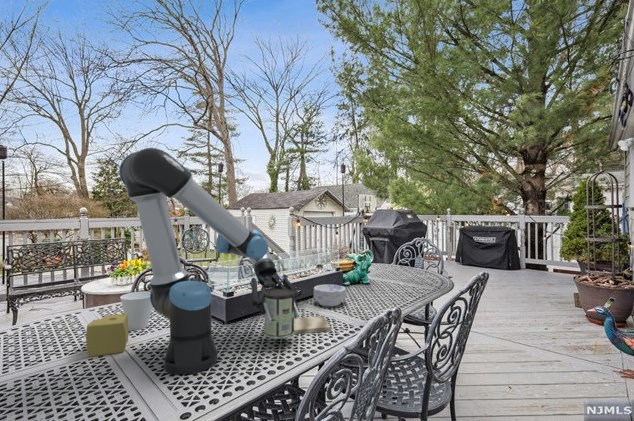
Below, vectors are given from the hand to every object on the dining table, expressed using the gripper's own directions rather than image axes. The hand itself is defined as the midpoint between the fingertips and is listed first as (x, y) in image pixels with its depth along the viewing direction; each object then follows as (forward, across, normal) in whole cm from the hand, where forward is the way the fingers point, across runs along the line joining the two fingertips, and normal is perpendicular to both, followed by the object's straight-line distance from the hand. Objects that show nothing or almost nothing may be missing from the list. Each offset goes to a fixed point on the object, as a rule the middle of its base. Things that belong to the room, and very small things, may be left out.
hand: (283, 319), depth 115 cm
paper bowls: (-15, -42, -27) cm, 52 cm away
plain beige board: (-2, -15, -14) cm, 21 cm away
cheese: (-15, +48, -29) cm, 58 cm away
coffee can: (+2, 0, -6) cm, 6 cm away
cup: (-27, +38, -41) cm, 62 cm away
